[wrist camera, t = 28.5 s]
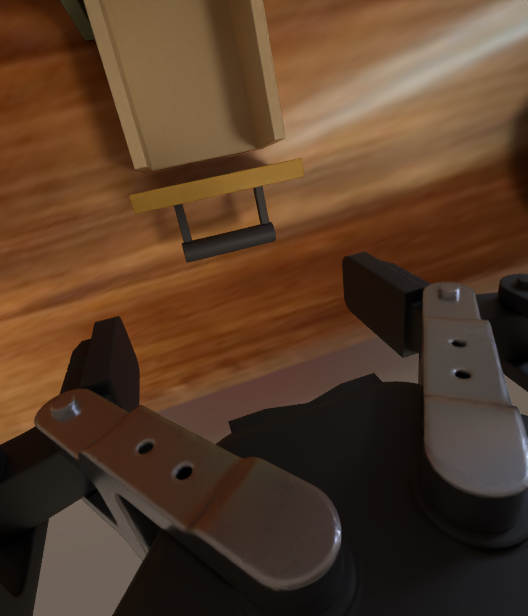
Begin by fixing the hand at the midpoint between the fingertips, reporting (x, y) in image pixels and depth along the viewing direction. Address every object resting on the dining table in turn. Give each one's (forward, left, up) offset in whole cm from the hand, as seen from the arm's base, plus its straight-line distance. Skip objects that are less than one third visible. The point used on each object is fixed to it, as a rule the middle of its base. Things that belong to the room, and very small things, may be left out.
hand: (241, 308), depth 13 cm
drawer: (-2, -9, -21) cm, 23 cm away
